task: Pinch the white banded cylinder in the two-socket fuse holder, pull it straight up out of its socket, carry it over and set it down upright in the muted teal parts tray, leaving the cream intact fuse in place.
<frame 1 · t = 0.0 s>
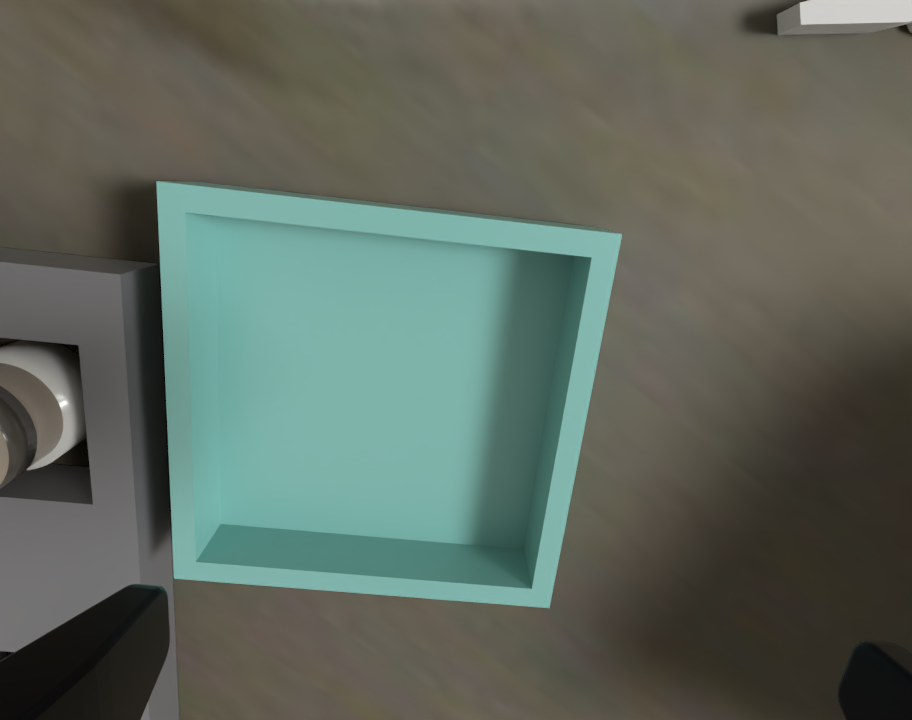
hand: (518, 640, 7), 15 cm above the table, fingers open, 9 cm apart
white banded cylinder: (46, 393, 22), resting in fuse holder
parts tray: (386, 390, 22), on the table
fuse holder: (61, 538, 24), on the table
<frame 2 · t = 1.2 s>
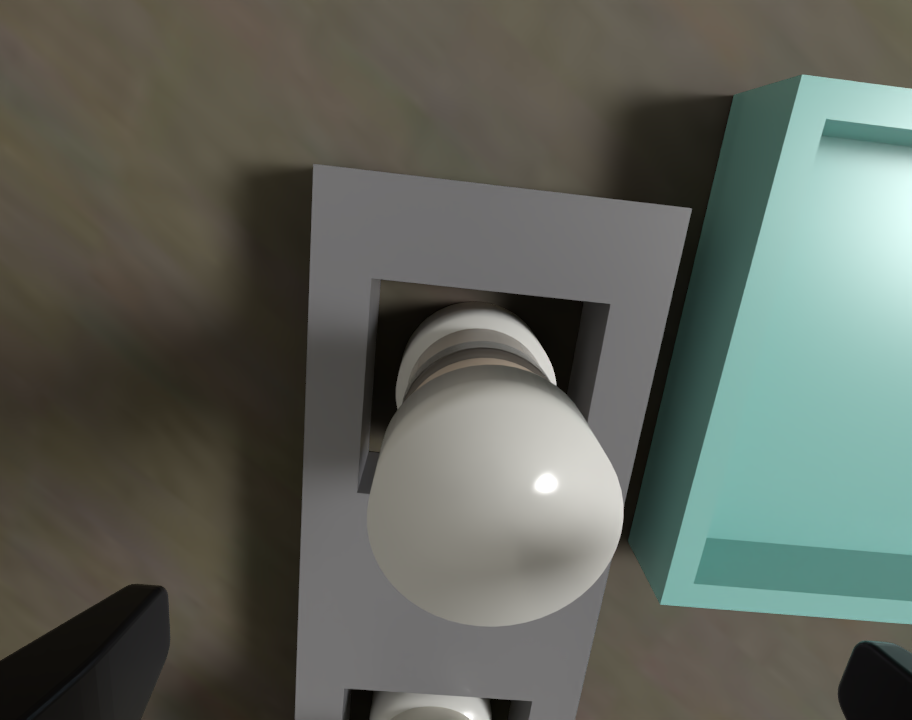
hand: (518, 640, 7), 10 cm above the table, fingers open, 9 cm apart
white banded cylinder: (472, 372, 17), resting in fuse holder
parts tray: (893, 368, 17), on the table
fuse holder: (450, 552, 19), on the table
intact fuse: (431, 697, 21), resting in fuse holder
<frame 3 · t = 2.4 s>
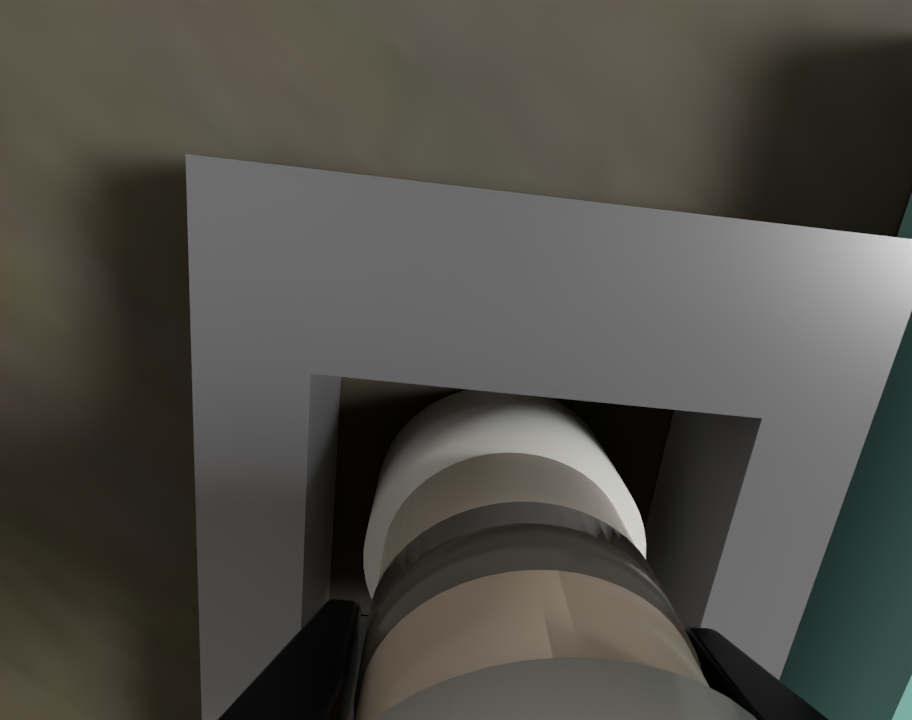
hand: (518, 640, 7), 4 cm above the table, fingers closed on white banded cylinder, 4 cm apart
white banded cylinder: (494, 495, 11), resting in fuse holder, touching gripper
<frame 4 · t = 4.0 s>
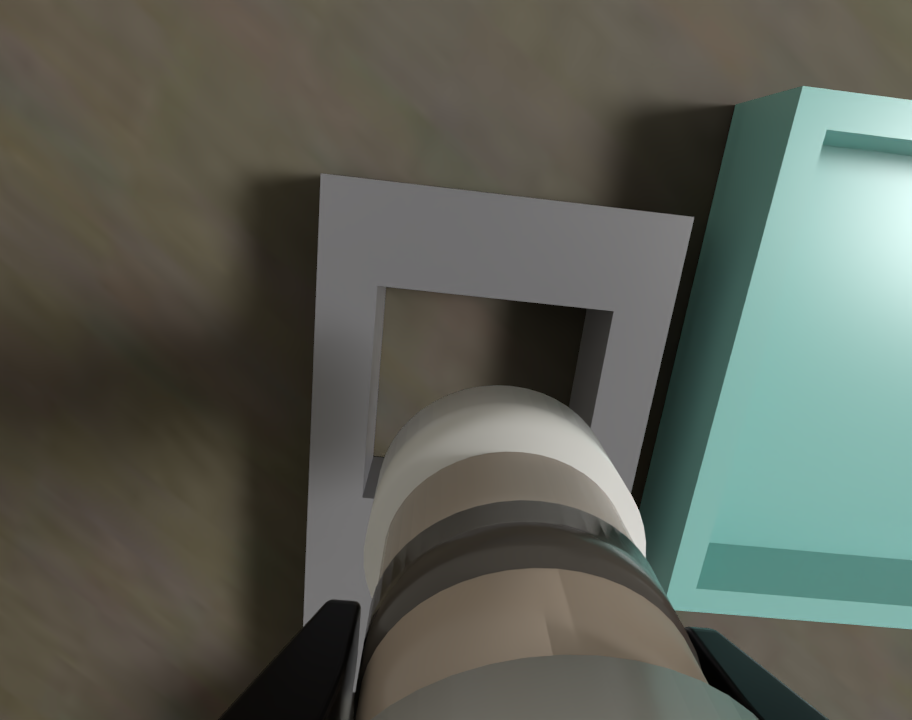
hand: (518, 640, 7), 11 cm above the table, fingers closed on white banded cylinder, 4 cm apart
white banded cylinder: (494, 494, 11), point 7 cm above the table, touching gripper
parts tray: (894, 374, 18), on the table
fuse holder: (453, 556, 19), on the table
when the fingers open (6 cm above the table, at t = 7.1 s): white banded cylinder drops 1 cm, resting on parts tray.
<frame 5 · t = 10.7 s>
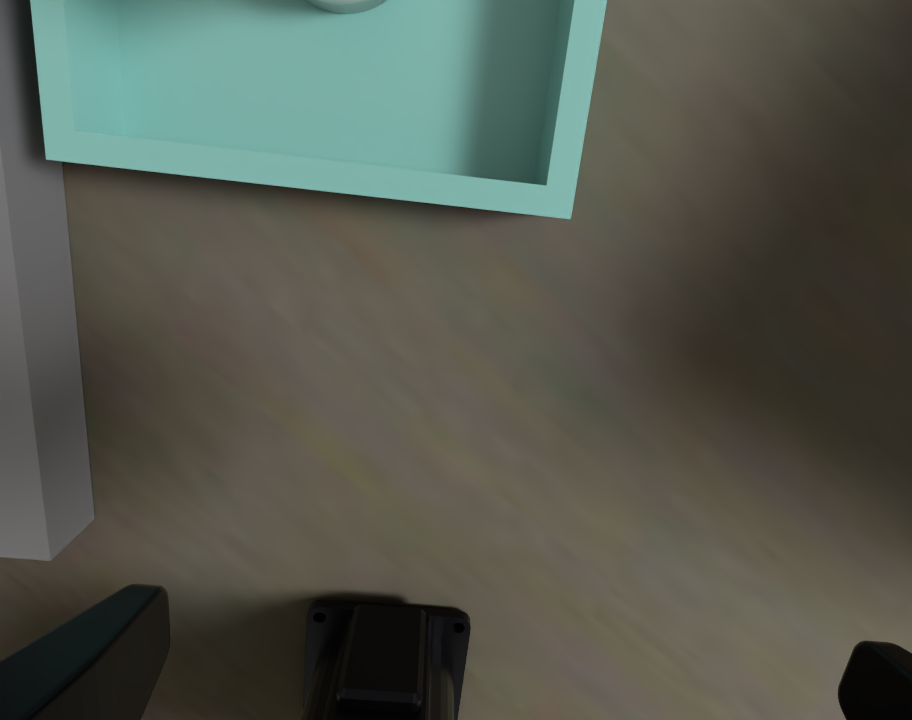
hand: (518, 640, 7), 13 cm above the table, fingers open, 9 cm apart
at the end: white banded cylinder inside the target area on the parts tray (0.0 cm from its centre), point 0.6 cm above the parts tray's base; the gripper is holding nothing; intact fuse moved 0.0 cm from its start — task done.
